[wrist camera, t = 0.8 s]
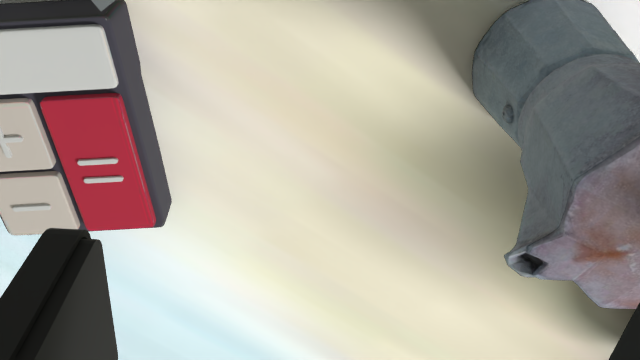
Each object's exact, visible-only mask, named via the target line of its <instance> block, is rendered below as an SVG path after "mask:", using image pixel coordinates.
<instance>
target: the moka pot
mask: <svg viewBox="0 0 640 360" xmlns="http://www.w3.org/2000/svg"><path fill="white" fill-rule="evenodd" d="M472 79H473V91H474V95H475V97H476V98H477V99H478V100H479V102H480V103H481V104H482V105H483V106H484V108H485V109H486V110H487V111H488V112H489V113H490V115H491V116H492V117H493V118H494V119H495V120H496V121H497V123H498V124H499V125H500V126H501V127H502V128H503V129H504V130H505V131H506V132H507V133H508V134H509V135H510V137H511V138H512V139H513V140H514V141H515V142H516V143H517V144H518V145H519V146H520V147H521V149H522V155H521V161H520V162H521V166H522V169H523V172H524V176H525V179H526V182H527V185H528V196H527V200H526V204H525V208H524V212H523V217H522V221H521V226H520V230H519V234H518V238H517V243H516V245H515V247H514V248H513V249H512V250H511V251H510V252H508V253H507V254H505V255H504V257H505V259H506V262H507V264H508V266H509V267H510V268H512V269H513V270H514V271H516V272H517V273H518V274H519V275H521V276H524V277H536V278H538V279H547V280H572V281H574V282H575V283H576V284H577V285H578V286H579V287H580V288H581V289H582V290H583V292H584V293H585V294H586V295H587V296H588V297H589V298H590V299H591V300H592V301H593V302H594V303H596V304H597V305H598V306H599V307H603V308H618V309H636V308H637V306H638V304H639V303H640V63H639V61H638V60H637V58H636V57H635V55H634V54H633V53H632V52H631V51H630V50H629V48H628V47H627V46H626V45H625V43H624V42H623V41H622V40H621V38H620V37H619V36H618V34H617V33H616V32H615V31H614V30H613V29H612V27H611V26H610V25H609V23H608V22H607V21H606V19H605V18H604V17H603V16H602V14H601V13H600V12H599V10H598V9H597V8H596V7H595V6H594V5H593V4H591V3H588V2H585V1H582V0H530V1H528V2H526V3H523V4H521V5H519V6H517V7H515V8H511V9H510V10H509V11H507V12H506V13H505V14H503V15H502V16H501V17H500V18H499V19H498V20H497V21H496V22H495V23H494V24H493V25H492V26H491V28H490V30H489V31H488V32H487V33H486V34H485V35H484V37H483V39H482V40H481V41H480V43H479V45H478V47H477V49H476V51H475V54H474V60H473V71H472Z"/></svg>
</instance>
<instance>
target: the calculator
mask: <svg viewBox="0 0 640 360" xmlns="http://www.w3.org/2000/svg"><path fill="white" fill-rule="evenodd" d="M171 202H172V201H171V196H170V192H169V187H168V183H167V179H166V174H165V170H164V166H163V161H162V157H161V153H160V148H159V144H158V140H157V136H156V132H155V128H154V124H153V120H152V116H151V112H150V108H149V104H148V100H147V96H146V92H145V88H144V84H143V80H142V76H141V68H140V61H139V57H138V52H137V48H136V43H135V39H134V35H133V30H132V26H131V22H130V17H129V13H128V9H127V5H126V3H125V1H124V0H115V1H114V2H113V3H111V4H110V5H109V6H107V7H106V8H105V9H104V10H102V11H100V10H99V9H98V8H97V6H96V5H95V4H94V3H93V2H92V1H91V0H61V1H43V2H26V3H8V4H0V216H1V219H2V221H3V223H4V225H5V227H6V229H7V231H8V232H9V233H10V234H11V235H32V234H43V233H44V232H45V230H46V229H49V228H62V229H81V230H87V231H102V230H120V229H137V228H155V227H162V226H163V225H164V224H165V221H166V218H167V215H168V212H169V209H170V205H171Z"/></svg>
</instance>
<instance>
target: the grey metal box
mask: <svg viewBox="0 0 640 360" xmlns="http://www.w3.org/2000/svg"><path fill="white" fill-rule="evenodd" d="M91 1H92V2H93V3H94V4H95V5H96V6H97V8H98V9H99V10H100V11H102V10H104V9H105V8H106V7H107V6H109V5H110V4H111V3H113V2H114V1H115V0H91Z"/></svg>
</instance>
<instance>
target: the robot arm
mask: <svg viewBox="0 0 640 360" xmlns="http://www.w3.org/2000/svg"><path fill="white" fill-rule="evenodd" d="M0 360H118V352H117V345H116V338H115V331H114V324H113V318H112V311H111V304H110V297H109V290H108V283H107V276H106V269H105V262H104V256H103V249H102V244H101V242H100V240H96V239H91V237H90V234H89V232H88V231H87V230H81V229H62V228H49V229H46V230H45V232H44V233H43V234H42V236H41V237H40V239H39V240H38V242H37V243H36V245H35V246H34V248H33V249H32V251H31V252H30V254H29V255H28V257H27V258H26V260H25V261H24V263H23V264H22V266H21V268H20V269H19V271H18V272H17V274H16V275H15V277H14V278H13V280H12V281H11V283H10V284H9V286H8V287H7V289H6V290H5V292H4V293H3V295H2V296H1V298H0ZM609 360H640V303H639V304H638V306H637V308H636V310H635V312H634V314H633V316H632V317H631V319H630V321H629V323H628V325H627V327H626V329H625V330H624V332H623V334H622V336H621V338H620V340H619V341H618V343H617V345H616V347H615V349H614V351H613V353H612V354H611V356H610V358H609Z"/></svg>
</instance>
